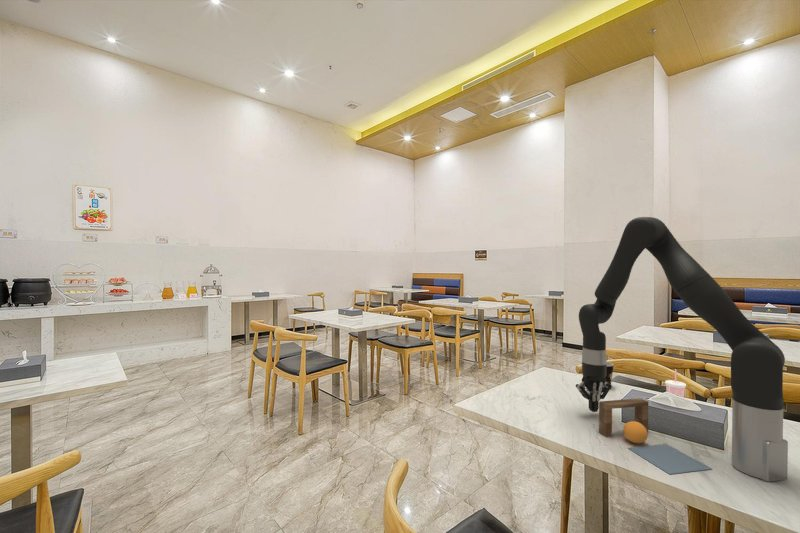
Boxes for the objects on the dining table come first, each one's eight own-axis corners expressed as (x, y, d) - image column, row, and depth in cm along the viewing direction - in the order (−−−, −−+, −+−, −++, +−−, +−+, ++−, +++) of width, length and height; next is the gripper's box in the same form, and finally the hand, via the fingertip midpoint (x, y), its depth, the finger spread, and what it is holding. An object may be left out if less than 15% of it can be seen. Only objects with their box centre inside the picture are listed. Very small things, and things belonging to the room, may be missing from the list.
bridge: (648, 432, 112) (648, 401, 112) (606, 437, 109) (606, 405, 109) (639, 428, 115) (640, 398, 115) (598, 432, 112) (599, 401, 112)
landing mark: (712, 469, 92) (712, 468, 92) (669, 474, 90) (669, 473, 90) (665, 444, 105) (665, 443, 105) (627, 448, 103) (627, 447, 103)
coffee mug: (601, 382, 160) (601, 360, 160) (618, 388, 152) (618, 365, 152) (580, 385, 156) (580, 362, 156) (596, 391, 148) (597, 367, 148)
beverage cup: (690, 409, 130) (690, 371, 130) (675, 411, 129) (676, 372, 129) (674, 403, 136) (675, 366, 136) (660, 404, 135) (661, 367, 135)
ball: (644, 446, 106) (656, 437, 103) (627, 447, 105) (638, 438, 101) (632, 426, 111) (643, 416, 107) (615, 427, 110) (625, 418, 106)
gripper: (584, 365, 120) (584, 417, 120) (619, 363, 122) (618, 414, 123) (569, 359, 127) (569, 408, 127) (602, 357, 130) (602, 405, 130)
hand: (593, 411), depth 125 cm, fingers closed
